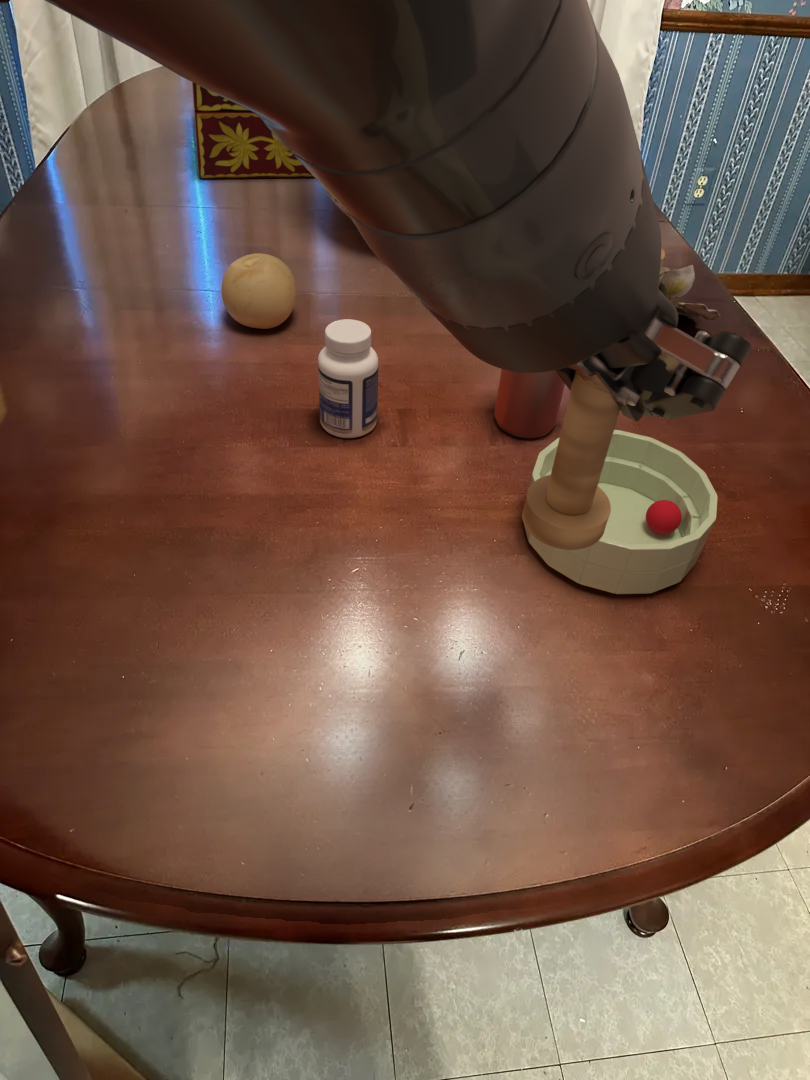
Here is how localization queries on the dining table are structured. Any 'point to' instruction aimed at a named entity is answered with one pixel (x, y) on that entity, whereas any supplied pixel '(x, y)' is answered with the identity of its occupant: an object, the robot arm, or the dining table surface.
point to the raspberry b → (663, 517)
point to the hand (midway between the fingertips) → (615, 387)
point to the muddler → (575, 473)
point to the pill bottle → (348, 380)
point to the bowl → (638, 518)
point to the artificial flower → (683, 292)
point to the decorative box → (238, 142)
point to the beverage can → (528, 402)
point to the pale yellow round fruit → (259, 291)
